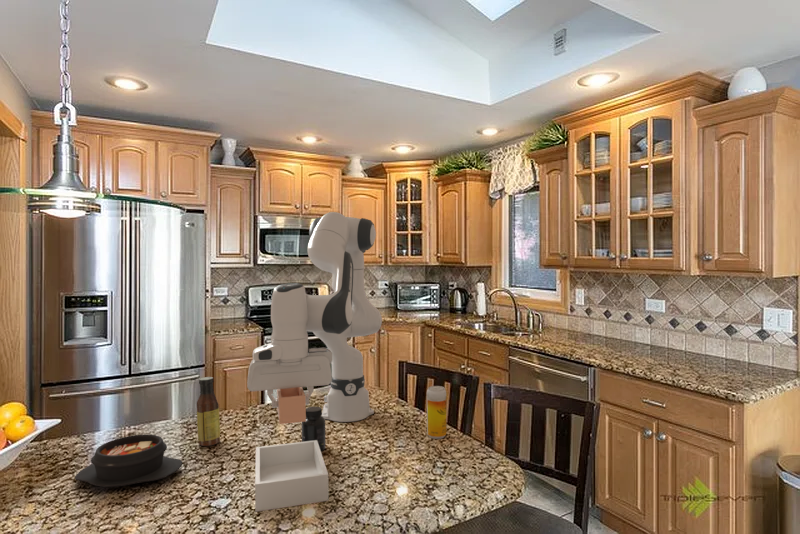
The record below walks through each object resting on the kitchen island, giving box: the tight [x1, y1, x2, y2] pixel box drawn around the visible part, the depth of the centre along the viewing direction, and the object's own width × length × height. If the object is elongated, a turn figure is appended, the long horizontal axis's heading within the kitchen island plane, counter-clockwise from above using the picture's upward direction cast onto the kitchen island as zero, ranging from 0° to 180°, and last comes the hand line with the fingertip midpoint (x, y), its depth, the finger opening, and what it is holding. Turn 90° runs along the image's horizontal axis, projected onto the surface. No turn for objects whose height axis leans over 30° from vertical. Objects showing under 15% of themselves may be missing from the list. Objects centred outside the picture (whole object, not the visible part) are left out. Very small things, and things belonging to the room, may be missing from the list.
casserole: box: [74, 434, 183, 488], centre depth 121 cm, size 25×19×8 cm
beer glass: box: [426, 385, 448, 440], centre depth 147 cm, size 6×6×15 cm
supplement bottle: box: [301, 406, 326, 453], centre depth 137 cm, size 7×7×12 cm
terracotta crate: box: [276, 387, 307, 425], centre depth 116 cm, size 13×6×6 cm, turn 17°
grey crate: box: [254, 440, 330, 512], centre depth 116 cm, size 22×16×6 cm
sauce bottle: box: [196, 376, 221, 447], centre depth 143 cm, size 7×6×20 cm
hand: (290, 405), depth 116 cm, fingers closed on terracotta crate, 6 cm apart
